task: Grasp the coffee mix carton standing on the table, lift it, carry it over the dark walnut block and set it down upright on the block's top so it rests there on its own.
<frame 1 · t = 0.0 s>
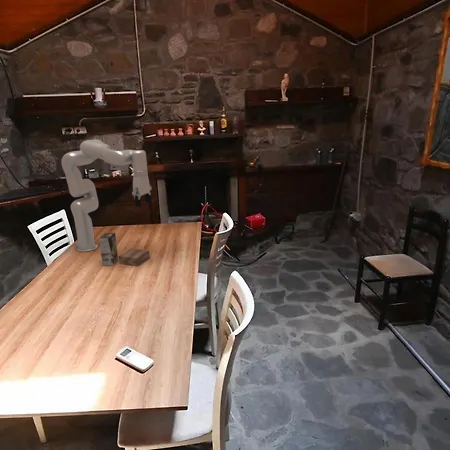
hand: (143, 204, 195), 31 cm above the table, fingers open, 9 cm apart
walnut block: (135, 261, 199), on the table
coffee box: (110, 262, 198), on the table
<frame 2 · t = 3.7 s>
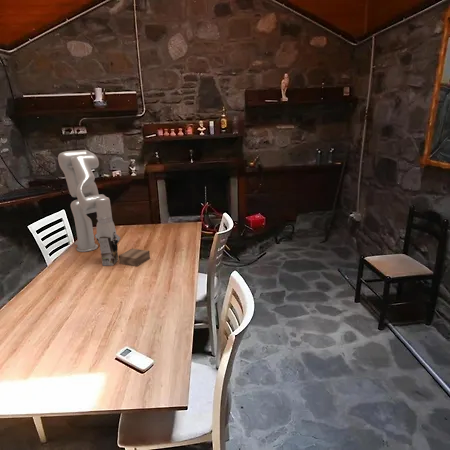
hand: (109, 249, 195), 8 cm above the table, fingers closed on coffee box, 8 cm apart
coffee box: (110, 262, 198), on the table, touching gripper
everything else where it was.
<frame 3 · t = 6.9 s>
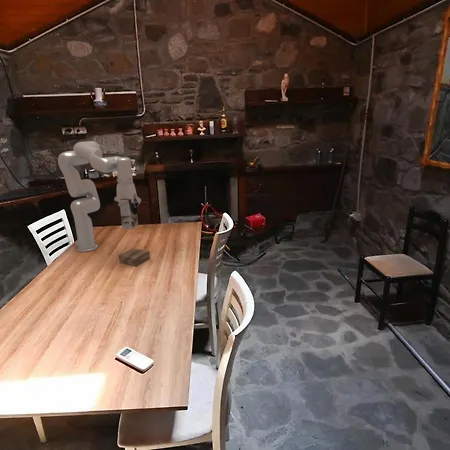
hand: (129, 213, 190), 28 cm above the table, fingers closed on coffee box, 8 cm apart
coffee box: (130, 226, 193), point 20 cm above the table, touching gripper
everything else where it was.
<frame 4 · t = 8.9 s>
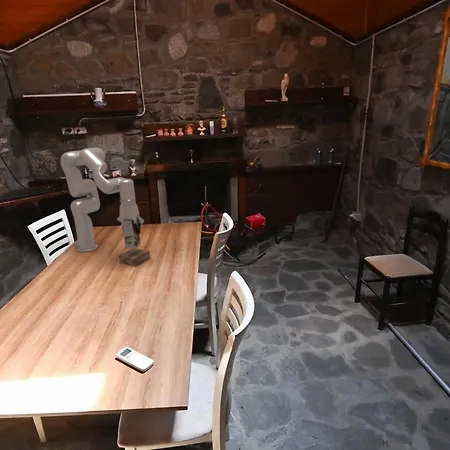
hand: (131, 233, 194), 17 cm above the table, fingers closed on coffee box, 8 cm apart
coffee box: (133, 246, 196), point 9 cm above the table, touching gripper
everything else where it was.
when the fingers open (14 cm above the table, at t = 10.5 s): coffee box drops 2 cm, resting on walnut block.
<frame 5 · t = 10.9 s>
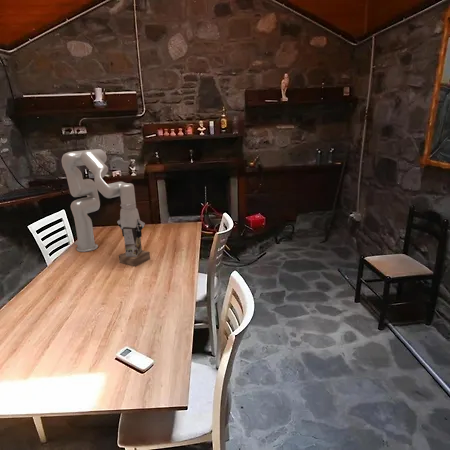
hand: (132, 236, 194), 15 cm above the table, fingers open, 9 cm apart
walnut block: (135, 261, 199), on the table, touching coffee box
coffee box: (134, 254, 197), point 4 cm above the table, touching walnut block
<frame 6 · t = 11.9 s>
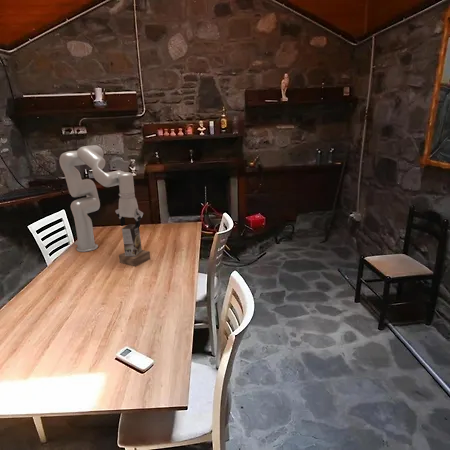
hand: (130, 226, 193), 20 cm above the table, fingers open, 9 cm apart
walnut block: (135, 261, 199), on the table
coffee box: (133, 253, 197), point 4 cm above the table
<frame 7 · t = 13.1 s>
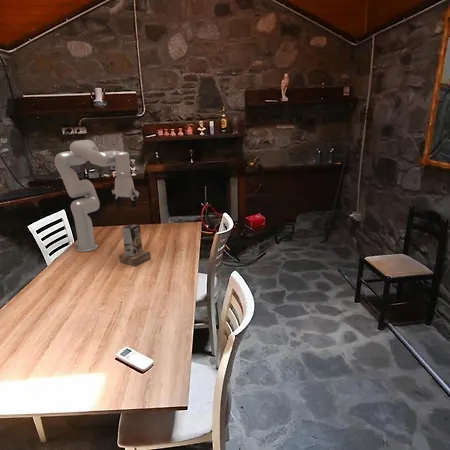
hand: (126, 206, 193), 31 cm above the table, fingers open, 9 cm apart
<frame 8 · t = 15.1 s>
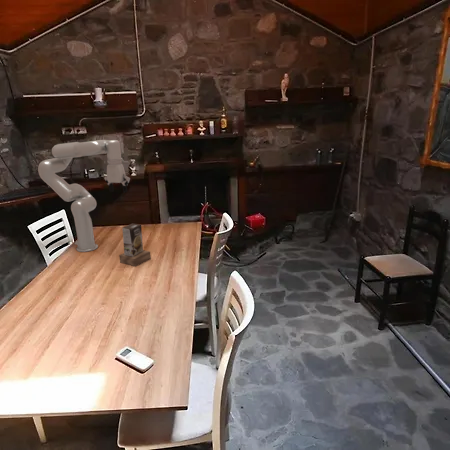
hand: (118, 191, 205), 36 cm above the table, fingers open, 9 cm apart
at the end: coffee box 0.4 cm off-centre on the walnut block, point 4.9 cm above the walnut block's base; coffee box tilted 1°; coffee box touching walnut block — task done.
